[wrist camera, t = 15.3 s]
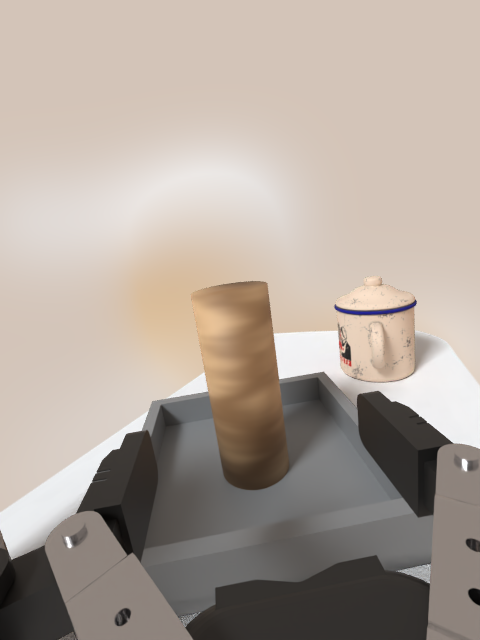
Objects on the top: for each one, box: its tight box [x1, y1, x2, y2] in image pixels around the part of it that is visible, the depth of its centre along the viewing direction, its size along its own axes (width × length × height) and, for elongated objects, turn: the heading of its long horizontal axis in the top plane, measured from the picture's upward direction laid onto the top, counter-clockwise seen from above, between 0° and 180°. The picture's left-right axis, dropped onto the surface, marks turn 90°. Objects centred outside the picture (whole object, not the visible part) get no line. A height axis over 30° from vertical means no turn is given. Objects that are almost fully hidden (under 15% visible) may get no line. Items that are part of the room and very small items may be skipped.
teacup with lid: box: [335, 276, 417, 382], centre depth 38 cm, size 12×9×12 cm
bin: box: [141, 372, 434, 617], centre depth 25 cm, size 18×18×4 cm
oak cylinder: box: [191, 281, 289, 490], centre depth 24 cm, size 5×5×14 cm
